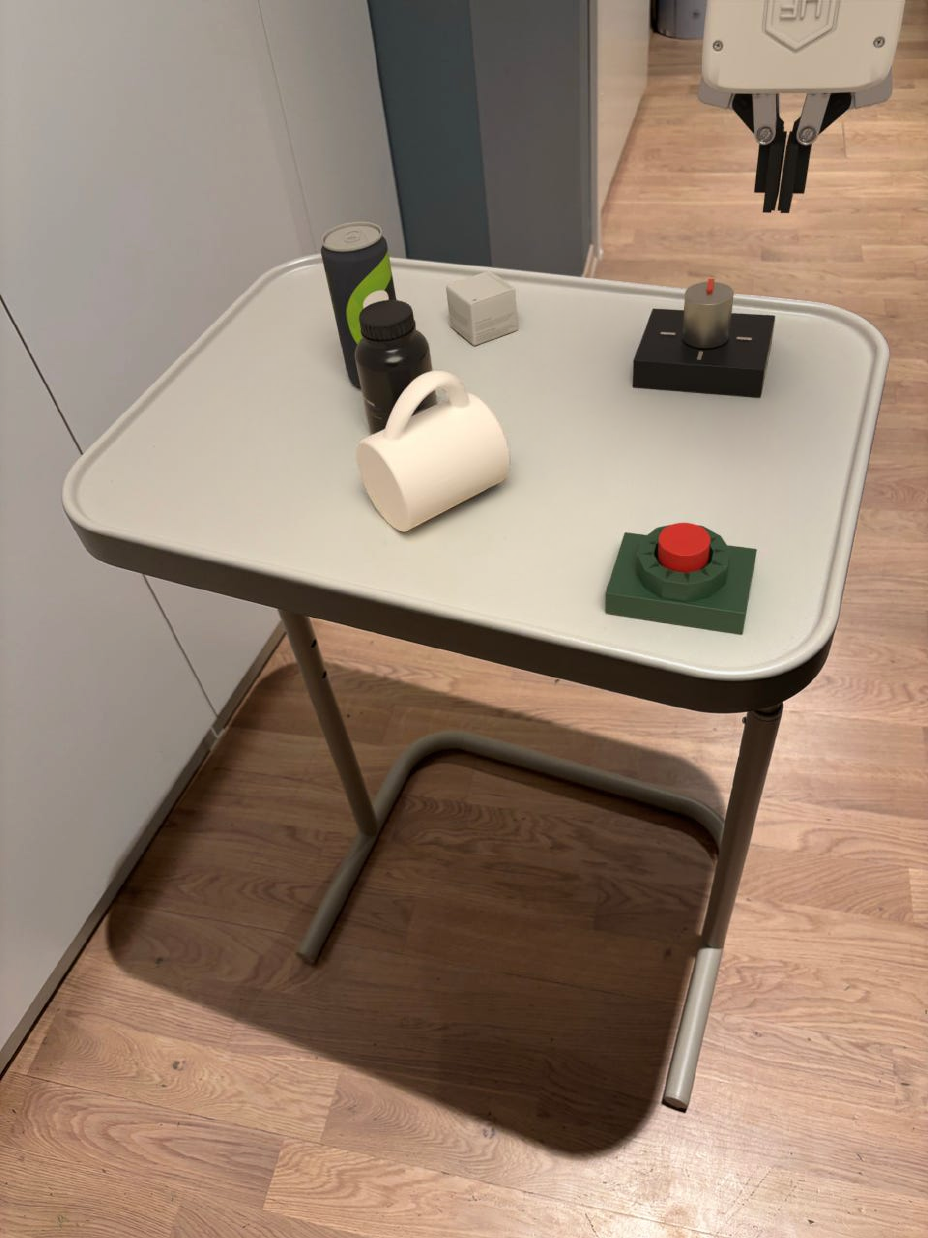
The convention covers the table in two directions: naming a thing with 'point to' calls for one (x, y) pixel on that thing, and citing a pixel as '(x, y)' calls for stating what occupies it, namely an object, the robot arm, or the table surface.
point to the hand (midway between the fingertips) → (777, 203)
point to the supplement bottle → (390, 359)
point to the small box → (482, 307)
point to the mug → (432, 453)
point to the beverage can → (355, 280)
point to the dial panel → (704, 356)
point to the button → (684, 547)
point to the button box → (681, 585)
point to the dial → (707, 314)
